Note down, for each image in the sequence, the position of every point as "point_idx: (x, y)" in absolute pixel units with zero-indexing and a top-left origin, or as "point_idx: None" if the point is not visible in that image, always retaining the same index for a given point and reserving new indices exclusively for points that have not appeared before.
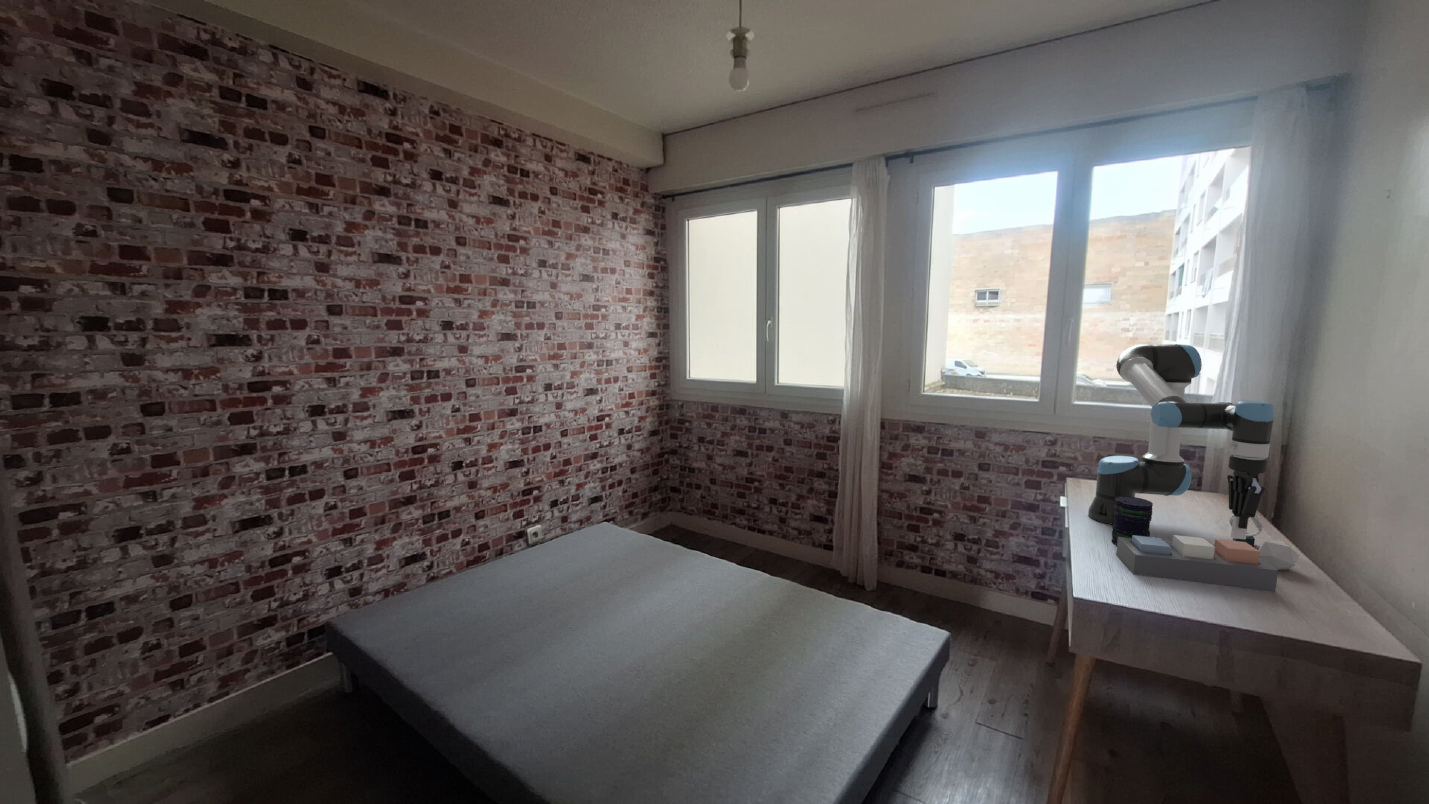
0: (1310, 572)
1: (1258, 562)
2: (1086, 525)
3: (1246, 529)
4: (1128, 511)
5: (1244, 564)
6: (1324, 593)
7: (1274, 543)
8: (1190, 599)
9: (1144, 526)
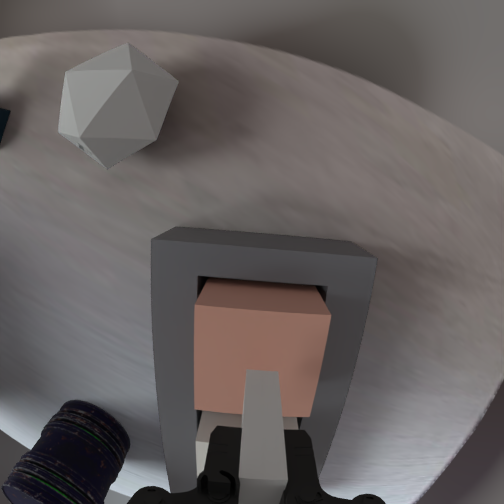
0: (156, 36)
1: (320, 296)
2: (22, 435)
3: (281, 412)
4: None
5: (337, 349)
6: (330, 95)
7: (97, 112)
8: (404, 442)
9: (96, 475)
